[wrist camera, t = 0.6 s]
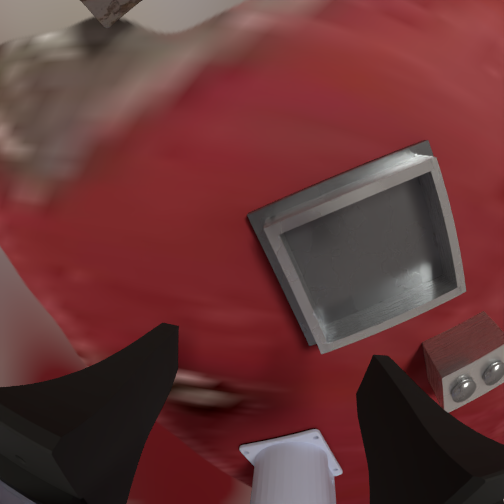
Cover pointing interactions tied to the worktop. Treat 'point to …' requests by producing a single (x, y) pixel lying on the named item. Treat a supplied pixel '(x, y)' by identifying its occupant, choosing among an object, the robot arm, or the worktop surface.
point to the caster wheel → (109, 9)
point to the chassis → (364, 247)
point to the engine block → (465, 361)
